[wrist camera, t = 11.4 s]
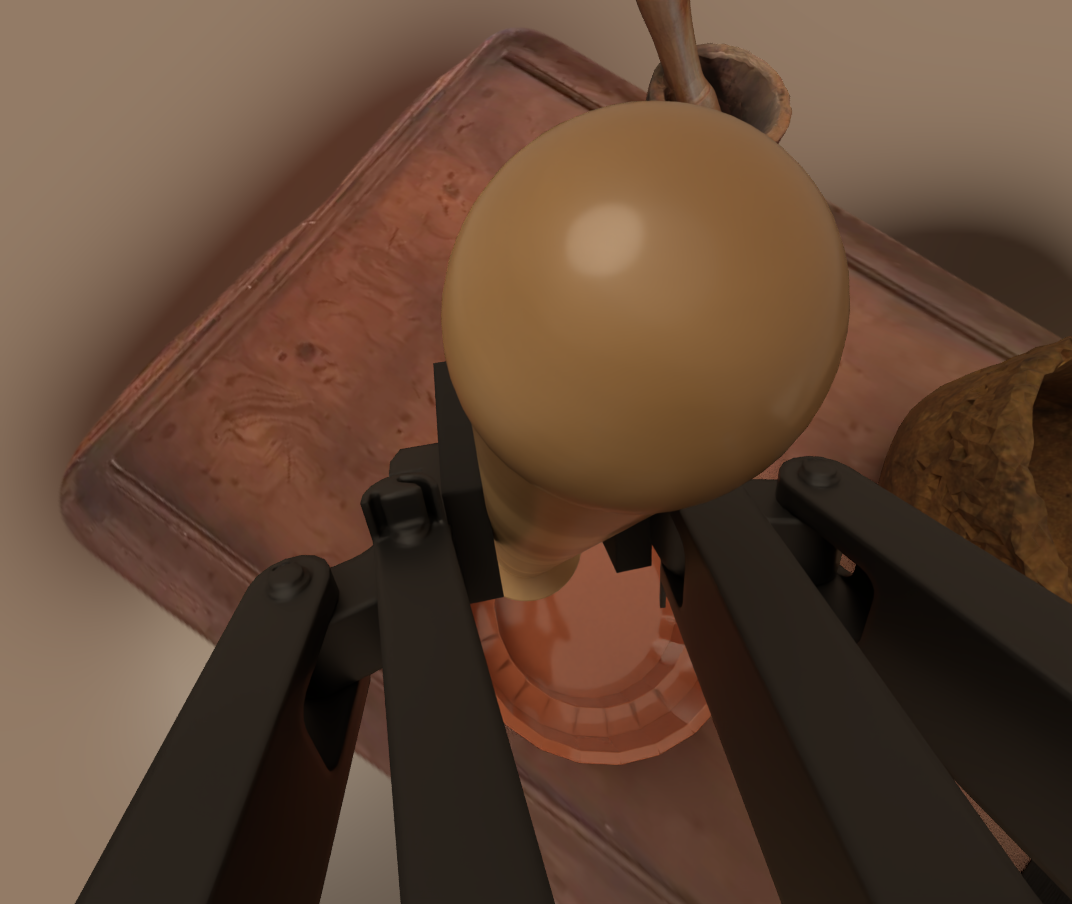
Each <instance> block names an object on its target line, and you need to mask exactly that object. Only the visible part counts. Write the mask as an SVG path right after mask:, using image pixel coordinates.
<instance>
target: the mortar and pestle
mask: <svg viewBox="0 0 1072 904" xmlns="http://www.w3.org/2000/svg"><path fill="white" fill-rule="evenodd" d="M636 2H637V5H638V7H639V10H640V12H641V14H642V17H643V19H644V21H645V24H646V26H647V28H648V30H649V32H650V35H651V37H652V39H653V42H654V44H655V47H656V50H657V53H658V56H659V59H660V63H659V65H658V66H657V67H656V69H655V70H654V73H653V75H652V78H651V81H650V84H649V88H648V92H647V97H646V101H670V102H682V103H689V104H695V105H700V106H703V107H707V108H711V109H715V110H718V111H720V112H723V113H726V114H728V115H731V116H734V117H736V118H738V119H740V120H742V121H744V122H746V123H748V124H750V125H752V126H753V127H755V128H756V129H758V130H760V131H761V132H763V133H764V134H766V135H767V136H769V137H770V138H771V139H772V140H774V141H775V142H776V143H777V144H778V143H779V141H780V140H781V138H782V137H783V135H784V134H785V132H786V130H787V128H788V127H789V123H790V119H791V115H792V108H791V107H790V95H789V93H788V90H787V89H786V87H785V86H784V83H783V81H782V79H781V77H780V76H779V75H778V73H777V72H776V71H775V70H774V69H773V68H772V67H771V66H770V65H768V63H767V62H765V61H764V60H762V59H760V58H758V57H756V56H755V55H753V54H752V53H750V52H749V51H747V50H744V49H741V48H739V47H733V46H729V45H726V44H713V43H707V44H701V45H696V41H695V35H694V29H693V23H692V16H691V8H690V0H636Z"/></svg>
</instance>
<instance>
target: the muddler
mask: <svg viewBox="0 0 1072 904" xmlns="http://www.w3.org/2000/svg"><path fill="white" fill-rule="evenodd" d="M849 314H850V295H849V271H848V265H847V260H846V254H845V250H844V247H843V243H842V240H841V237H840V234H839V231H838V228H837V225H836V223H835V220H834V217H833V215H832V213H831V211H830V209H829V207H828V204H827V202H826V200H825V198H824V197H823V195H822V194H821V192H820V191H819V189H818V187H817V186H816V184H815V183H814V181H813V180H812V179H811V178H810V177H809V175H808V174H807V173H806V172H805V170H804V169H803V168H802V167H801V166H800V165H799V163H797V162H796V160H794V158H793V157H791V156H790V155H789V154H788V153H787V152H786V151H785V150H784V149H783V148H782V147H781V146H780V145H779V144H777V143H776V142H775V141H774V140H772V139H771V138H770V137H769V136H767V135H766V134H764V133H763V132H761V131H760V130H758V129H756V128H755V127H753V126H752V125H750V124H748V123H746V122H744V121H742V120H740V119H738V118H736V117H734V116H731V115H728V114H726V113H723V112H720V111H718V110H715V109H711V108H707V107H703V106H700V105H695V104H689V103H682V102H670V101H636V102H626V103H620V104H614V105H609V106H606V107H602V108H599V109H595V110H592V111H589V112H587V113H584V114H582V115H579V116H577V117H574V118H572V119H570V120H567V121H565V122H563V123H560V124H558V125H557V126H555V127H553V128H551V129H550V130H548V131H546V132H545V133H543V134H541V135H540V136H539V137H537V138H536V139H535V140H533V141H532V142H531V143H529V144H528V145H527V146H526V147H524V148H523V149H522V150H520V151H519V152H518V153H517V154H515V155H514V156H513V157H512V158H511V159H510V160H509V161H508V162H507V163H506V164H505V165H504V166H503V167H502V168H501V169H500V170H499V171H498V172H497V173H496V174H495V176H494V177H493V178H492V179H491V181H490V182H489V183H488V185H487V186H486V187H485V189H484V190H483V191H482V193H481V194H480V195H479V197H478V198H477V200H476V201H475V202H474V204H473V206H472V207H471V209H470V211H469V213H468V215H467V217H466V219H465V221H464V222H463V225H462V227H461V229H460V231H459V234H458V236H457V238H456V241H455V244H454V247H453V250H452V252H451V255H450V258H449V262H448V267H447V272H446V278H445V283H444V288H443V294H442V310H441V324H442V335H443V345H444V355H445V359H446V363H447V367H448V371H449V375H450V379H451V381H452V384H453V386H454V389H455V391H456V393H457V396H458V398H459V401H460V403H461V406H462V408H463V410H464V412H465V414H466V415H467V417H468V419H469V420H470V422H471V424H472V429H473V435H474V441H475V446H476V452H477V458H478V464H479V470H480V476H481V481H482V487H483V493H484V499H485V505H486V509H487V513H488V516H489V519H490V522H491V526H492V532H493V537H494V543H495V549H496V554H497V560H498V565H499V571H500V577H501V582H502V588H503V593H504V597H506V598H508V599H512V600H516V601H535V600H540V599H543V598H546V597H548V596H551V595H552V594H554V593H556V592H557V591H559V590H560V589H561V588H562V587H564V586H565V585H566V583H567V582H568V581H569V580H570V579H571V577H572V576H573V574H574V572H575V570H576V569H577V566H578V563H579V560H580V556H581V553H582V552H584V551H586V550H588V549H590V548H592V547H594V546H595V545H597V544H599V543H601V542H603V541H605V540H607V539H609V538H611V537H613V536H614V535H616V534H618V533H620V532H622V531H624V530H626V529H628V528H630V527H631V526H633V525H635V524H637V523H639V522H641V521H643V520H645V519H647V518H648V517H650V516H652V515H654V514H657V513H665V512H672V511H677V510H680V509H684V508H688V507H691V506H695V505H699V504H702V503H706V502H709V501H711V500H713V499H716V498H718V497H720V496H723V495H725V494H727V493H730V492H731V491H733V490H735V489H736V488H738V487H740V486H741V485H743V484H744V483H746V482H748V481H749V480H751V479H753V478H754V477H756V476H757V475H759V474H760V473H762V472H763V471H764V470H766V469H767V468H768V467H769V466H770V465H771V464H773V463H774V462H775V461H776V460H777V459H779V458H780V457H781V456H782V455H783V454H784V453H785V452H786V450H787V449H788V448H789V447H790V446H791V445H792V444H793V443H794V442H795V440H796V439H797V438H798V437H799V436H800V435H801V434H802V433H803V431H804V430H805V429H806V428H807V427H808V425H809V424H810V422H811V421H812V419H813V417H814V416H815V414H816V413H817V411H818V410H819V408H820V407H821V405H822V403H823V401H824V399H825V397H826V395H827V393H828V391H829V389H830V387H831V384H832V382H833V380H834V378H835V375H836V373H837V371H838V367H839V364H840V360H841V356H842V352H843V349H844V345H845V340H846V336H847V332H848V323H849Z"/></svg>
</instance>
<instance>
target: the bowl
mask: <svg viewBox="0 0 1072 904" xmlns="http://www.w3.org/2000/svg"><path fill="white" fill-rule="evenodd" d="M878 485H879V486H881V487H882V488H884V489H886V490H887V491H889V492H890V493H892V494H894V495H895V496H897V497H899V498H900V499H902V500H903V501H905V502H907V503H908V504H910V505H912V506H913V507H915V508H916V509H918V510H920V511H921V512H923V513H924V514H926V515H928V516H929V517H931V518H933V519H934V520H936V521H937V522H939V523H941V524H942V525H944V526H946V527H947V528H949V529H950V530H952V531H954V532H955V533H957V534H958V535H960V536H962V537H963V538H965V539H967V540H968V541H970V542H971V543H973V544H975V545H976V546H978V547H980V548H981V549H983V550H984V551H986V552H988V553H989V554H991V555H992V556H994V557H996V558H997V559H999V560H1001V561H1002V562H1004V563H1005V564H1007V565H1009V566H1010V567H1012V568H1014V569H1015V570H1017V571H1018V572H1020V573H1022V574H1023V575H1025V576H1026V577H1028V578H1030V579H1031V580H1033V581H1035V582H1036V583H1038V584H1039V585H1041V586H1043V587H1044V588H1046V589H1048V590H1049V591H1051V592H1052V593H1054V594H1056V595H1057V596H1059V597H1060V598H1062V599H1064V600H1065V601H1067V602H1069V603H1070V604H1072V336H1069V337H1065V338H1064V339H1062V340H1060V341H1059V342H1056V343H1052V344H1049V345H1044V346H1039V347H1035V348H1033V349H1032V350H1030V351H1028V352H1026V353H1024V354H1021V355H1018V356H1014V357H1012V358H1010V359H1008V360H1006V361H1004V362H1002V363H999V364H996V365H993V366H989V367H986V368H983V369H980V370H978V371H975V372H973V373H970V374H968V375H965V376H963V377H961V378H959V379H956V380H954V381H952V382H950V383H947V384H945V385H943V386H940V387H939V388H938V389H936V390H935V391H934V392H932V393H931V394H929V395H928V396H927V397H925V398H924V399H922V400H921V401H920V402H919V403H918V404H917V405H916V406H915V407H914V408H913V409H911V410H910V412H909V413H908V415H907V416H906V417H905V419H904V420H903V422H902V423H901V425H900V426H899V428H898V430H897V433H896V435H895V437H894V439H893V441H892V444H891V446H890V448H889V451H888V453H887V456H886V459H885V462H884V465H883V469H882V472H881V476H880V480H879V484H878Z"/></svg>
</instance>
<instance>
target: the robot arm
mask: <svg viewBox="0 0 1072 904" xmlns="http://www.w3.org/2000/svg"><path fill="white" fill-rule="evenodd" d="M433 365H434V382H435V398H436V415H437V431H438V443H434V444H428V445H422V446H417V447H411V448H405V449H400V450H399V452H398V453H397V454H396V455H395V457H394V458H393V459H392V460H391V462H390V470H389V477H387V478H384V479H382V480H380V481H379V482H377V483H375V484H374V485H372V486H371V487H370V488H369V489H368V490H367V491H366V492H365V493H364V494H363V496H362V499H361V503H360V504H361V507H362V510H363V513H364V516H365V519H366V522H367V525H368V528H369V531H370V534H371V537H372V540H373V546H372V547H370V548H369V549H368V550H366V551H365V552H363V553H362V554H360V555H358V556H356V557H354V558H352V559H350V560H348V561H346V562H343V563H341V564H338V565H336V566H334V567H331V568H330V567H329V565H328V564H327V562H326V561H325V559H322V558H320V557H317V556H315V555H300V556H296V557H292V558H288V559H285V560H282V561H280V562H278V563H276V564H274V565H272V566H270V567H269V568H267V569H266V570H265V571H263V572H262V573H261V574H259V575H258V576H257V577H256V578H255V579H254V581H253V582H252V583H251V584H250V586H249V587H248V588H247V590H246V592H245V594H244V596H243V598H242V599H241V601H240V603H239V605H238V607H237V609H236V610H235V612H234V614H233V616H232V618H231V620H230V621H229V623H228V625H227V627H226V629H225V630H224V632H223V634H222V636H221V638H220V640H219V641H218V643H217V645H216V647H215V649H214V651H213V652H212V654H211V656H210V658H209V660H208V662H207V663H206V665H205V667H204V669H203V671H202V672H201V675H200V676H199V678H198V680H197V682H196V683H195V685H194V687H193V689H192V691H191V693H190V695H189V696H188V698H187V700H186V702H185V704H184V705H183V707H182V709H181V711H180V713H179V714H178V717H177V718H176V720H175V722H174V724H173V725H172V727H171V729H170V731H169V733H168V735H167V736H166V738H165V740H164V742H163V744H162V746H161V747H160V749H159V751H158V753H157V755H156V756H155V758H154V760H153V762H152V764H151V766H150V768H149V769H148V771H147V773H146V775H145V777H144V779H143V780H142V782H141V784H140V786H139V788H138V789H137V791H136V793H135V795H134V797H133V798H132V800H131V802H130V804H129V806H128V808H127V809H126V811H125V813H124V815H123V817H122V819H121V821H120V822H119V824H118V826H117V828H116V830H115V832H114V833H113V835H112V837H111V839H110V840H109V842H108V844H107V846H106V848H105V850H104V851H103V853H102V855H101V857H100V859H99V861H98V863H97V864H96V866H95V868H94V870H93V872H92V873H91V875H90V877H89V879H88V881H87V883H86V884H85V886H84V888H83V890H82V892H81V893H80V896H79V897H78V899H77V901H76V903H75V904H319V902H320V898H321V894H322V890H323V885H324V881H325V877H326V872H327V868H328V863H329V858H330V855H331V850H332V846H333V841H334V837H335V833H336V828H337V824H338V820H339V815H340V810H341V806H342V802H343V798H344V793H345V789H346V784H347V780H348V776H349V771H350V767H351V762H352V758H353V754H354V750H355V745H356V741H357V736H358V732H359V728H360V723H361V719H362V715H363V710H364V706H365V701H366V697H367V693H368V688H369V684H370V674H372V673H374V672H376V671H378V670H380V669H382V668H383V680H384V693H385V706H386V719H387V732H388V745H389V758H390V770H391V783H392V796H393V809H394V822H395V835H396V848H397V861H398V874H399V887H400V900H401V904H555V902H554V899H553V895H552V891H551V888H550V884H549V881H548V877H547V874H546V870H545V867H544V863H543V860H542V856H541V853H540V849H539V846H538V842H537V839H536V835H535V831H534V828H533V824H532V821H531V817H530V814H529V810H528V807H527V803H526V800H525V796H524V793H523V789H522V786H521V782H520V778H519V775H518V771H517V768H516V764H515V761H514V757H513V754H512V750H511V747H510V743H509V740H508V736H507V733H506V729H505V726H504V722H503V718H502V715H501V711H500V708H499V704H498V701H497V697H496V694H495V690H494V687H493V683H492V680H491V676H490V673H489V669H488V666H487V662H486V658H485V655H484V651H483V648H482V644H481V641H480V637H479V634H478V630H477V627H476V623H475V620H474V616H473V613H472V609H471V606H470V604H473V603H478V602H483V601H487V600H492V599H497V598H502V597H504V593H503V588H502V582H501V577H500V571H499V565H498V560H497V554H496V549H495V543H494V537H493V532H492V526H491V522H490V519H489V516H488V513H487V509H486V505H485V499H484V493H483V487H482V481H481V476H480V470H479V464H478V458H477V452H476V446H475V441H474V435H473V429H472V424H471V422H470V420H469V419H468V417H467V415H466V414H465V412H464V410H463V408H462V406H461V403H460V401H459V398H458V396H457V393H456V391H455V389H454V386H453V384H452V381H451V379H450V375H449V371H448V367H447V363H446V361H445V362H439V363H433ZM603 545H604V547H605V549H606V551H607V553H608V555H609V558H610V560H611V562H612V564H613V566H614V568H615V571H616V573H620V572H625V571H630V570H634V569H639V568H644V567H649V566H652V546H653V547H654V549H655V551H656V552H657V554H658V556H659V558H660V559H661V561H660V595H659V601H660V608H666V597H667V599H668V601H669V604H670V607H671V609H672V612H673V615H674V617H675V620H676V623H677V625H678V628H679V631H680V633H681V636H682V639H683V641H684V644H685V647H686V649H687V652H688V655H689V657H690V660H691V663H692V665H693V668H694V671H695V673H696V676H697V679H698V681H699V684H700V687H701V689H702V692H703V695H704V697H705V700H706V703H707V705H708V708H709V711H710V713H711V716H712V719H713V721H714V724H715V727H716V730H717V732H718V735H719V738H720V740H721V743H722V746H723V748H724V751H725V754H726V756H727V759H728V762H729V764H730V767H731V770H732V772H733V775H734V778H735V780H736V783H737V786H738V788H739V791H740V794H741V796H742V799H743V802H744V804H745V807H746V810H747V812H748V815H749V818H750V820H751V823H752V826H753V828H754V831H755V834H756V836H757V839H758V842H759V844H760V847H761V850H762V852H763V855H764V858H765V860H766V863H767V866H768V868H769V871H770V874H771V876H772V879H773V882H774V885H775V887H776V890H777V893H778V895H779V898H780V901H781V903H782V904H1043V903H1042V901H1041V900H1040V899H1039V898H1038V897H1037V895H1036V894H1035V893H1034V892H1033V890H1032V889H1031V887H1030V886H1029V885H1028V883H1027V882H1026V880H1025V879H1024V878H1023V876H1022V875H1021V873H1020V872H1019V871H1018V869H1017V868H1016V866H1015V865H1014V864H1013V862H1012V861H1011V859H1010V858H1009V857H1008V855H1007V854H1006V852H1005V851H1004V850H1003V848H1002V847H1001V845H1000V844H999V843H998V841H997V840H996V838H995V837H994V836H993V834H992V833H991V831H990V830H989V829H988V827H987V826H986V824H985V823H984V822H983V820H982V819H981V817H980V816H979V815H978V813H977V812H976V810H975V809H974V808H973V806H972V805H971V803H970V802H969V801H968V799H967V798H966V796H965V795H964V794H963V792H962V791H961V789H960V788H959V787H958V785H957V784H956V782H957V783H958V784H959V785H960V786H961V787H962V788H963V789H964V790H965V792H966V793H967V794H968V795H969V796H970V797H971V798H972V799H973V800H974V801H975V802H976V803H977V804H978V805H979V806H980V807H981V808H982V809H983V810H984V811H985V812H986V813H987V814H988V815H989V816H990V817H991V818H992V819H993V820H994V821H995V822H996V823H997V824H998V825H999V826H1000V827H1001V828H1002V829H1003V830H1004V831H1005V832H1006V834H1007V835H1008V836H1009V837H1010V838H1011V839H1012V840H1013V841H1014V842H1015V843H1016V844H1017V845H1018V846H1019V847H1020V848H1021V849H1022V850H1023V851H1024V852H1025V853H1026V854H1027V855H1028V856H1029V857H1030V858H1031V859H1032V860H1033V861H1034V862H1035V863H1036V864H1037V865H1038V866H1039V867H1040V868H1041V869H1042V870H1043V871H1044V872H1045V873H1046V874H1047V876H1048V877H1049V878H1050V879H1051V880H1052V881H1053V882H1054V883H1055V884H1056V885H1057V886H1058V887H1059V888H1060V889H1061V890H1062V891H1063V892H1064V893H1065V894H1066V895H1067V896H1068V897H1069V898H1070V899H1071V900H1072V604H1070V603H1069V602H1067V601H1065V600H1064V599H1062V598H1060V597H1059V596H1057V595H1056V594H1054V593H1052V592H1051V591H1049V590H1048V589H1046V588H1044V587H1043V586H1041V585H1039V584H1038V583H1036V582H1035V581H1033V580H1031V579H1030V578H1028V577H1026V576H1025V575H1023V574H1022V573H1020V572H1018V571H1017V570H1015V569H1014V568H1012V567H1010V566H1009V565H1007V564H1005V563H1004V562H1002V561H1001V560H999V559H997V558H996V557H994V556H992V555H991V554H989V553H988V552H986V551H984V550H983V549H981V548H980V547H978V546H976V545H975V544H973V543H971V542H970V541H968V540H967V539H965V538H963V537H962V536H960V535H958V534H957V533H955V532H954V531H952V530H950V529H949V528H947V527H946V526H944V525H942V524H941V523H939V522H937V521H936V520H934V519H933V518H931V517H929V516H928V515H926V514H924V513H923V512H921V511H920V510H918V509H916V508H915V507H913V506H912V505H910V504H908V503H907V502H905V501H903V500H902V499H900V498H899V497H897V496H895V495H894V494H892V493H890V492H889V491H887V490H886V489H884V488H882V487H881V486H879V485H878V484H876V483H874V482H873V481H871V480H869V479H868V478H866V477H865V476H863V475H861V474H860V473H858V472H856V471H855V470H853V469H852V468H850V467H848V466H846V465H844V464H842V463H840V462H838V461H835V460H831V459H827V458H824V457H818V456H815V457H813V456H804V457H797V458H792V459H790V460H788V461H786V462H784V463H783V464H782V466H781V467H780V469H779V474H778V480H766V479H751V480H749V481H748V482H746V483H744V484H743V485H741V486H740V487H738V488H736V489H735V490H733V491H731V492H730V493H727V494H725V495H723V496H720V497H718V498H716V499H713V500H711V501H709V502H706V503H702V504H699V505H695V506H691V507H688V508H684V509H680V510H677V511H672V512H665V513H657V514H654V515H652V516H650V517H648V518H647V519H645V520H643V521H641V522H639V523H637V524H635V525H633V526H631V527H630V528H628V529H626V530H624V531H622V532H620V533H618V534H616V535H614V536H613V537H611V538H609V539H607V540H605V541H603ZM842 553H843V554H844V555H845V556H847V557H848V558H849V559H850V560H852V561H853V562H854V563H855V564H856V566H855V570H854V572H853V573H851V572H849V571H847V570H846V569H844V568H843V567H842V566H841V565H840V560H841V556H842ZM953 779H954V780H955V781H956V782H955V781H954V780H953Z"/></svg>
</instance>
